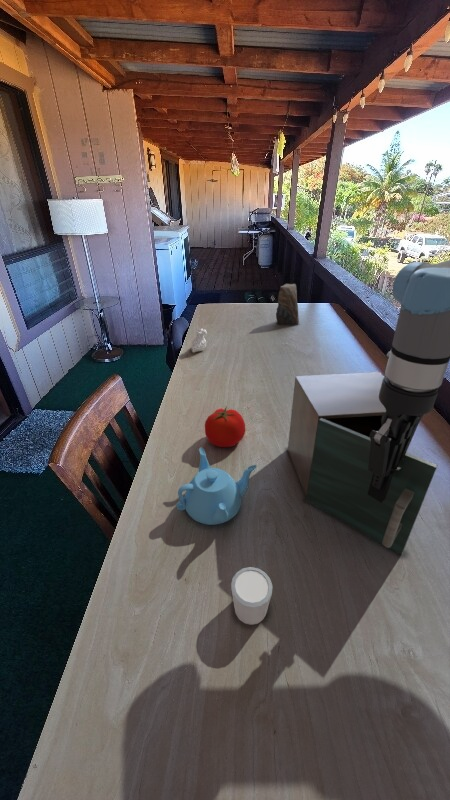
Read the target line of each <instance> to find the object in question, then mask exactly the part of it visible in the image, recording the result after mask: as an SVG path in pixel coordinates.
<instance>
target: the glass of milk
mask: <svg viewBox="0 0 450 800" xmlns="http://www.w3.org/2000/svg"><path fill="white" fill-rule="evenodd" d="M230 587H231V588H230V589H231V594H232V601H233V607H234V613H235V615H236V616H237V619H238V620H239V621H241V622H242V623H243V624H246V625H250V626H252V625H257V624H260V623H261V622H262V621H263V620H264V619H265V617H266V615H267V614H268V609H269V607H270V606H269V605H270V602H271V598H272V594H273V584H272V580H271V578H270V577H269V575H268V574H267V572H265V571H264V570H262V569H260V568H259V567H254V566H248V567H242V568H241V569H240V570H238V571H237V572H235V574H234V575H233V577H232V580H231V584H230Z"/></svg>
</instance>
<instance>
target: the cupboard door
mask: <svg viewBox="0 0 450 800" xmlns="http://www.w3.org/2000/svg"><path fill="white" fill-rule="evenodd" d="M370 446H371V440H370V437H367V436H365V435H362V434H360V433H357V432H355V431H352V430H350V429H347V428H345V427H343V426H340V425H338V424H335V423H333V422H330V421H328V420H325V419H323V418H321V419H319V423H318V429H317V436H316V442H315V448H314V455H313V461H312V468H311V474H310V480H309V487H308V493H307V497H306V499H305V500H306V502H307V503H309V504H311V505H313V506H315V507H316V508H318V509H320V510H322V511H323V512H325V513H326V514H329V515H330V516H331V517H333V518H335V519H337V520H339V521H341V522H342V523H344V524H346V525H348V526H349V527H351V528H352V529H354V530H356V531H358V532H360V533H362V534H363V535H365V536H367V537H368V538H370V539H372V540H374V541H376V542H377V543H379V544H381V545H383V547H385V548H388V549H390V550H391V551H393V552H395V553H397V554H398V555H400V556H402V555H403V553H404V552H405V548H406V545H407V543H408V542H409V538H410V536H411V533H412V531H413V528H414V526H415V523H416V521H417V518H418V515H419V513H420V511H421V509H422V505H423V504H424V501H425V498H426V496H427V493H428V491H429V488H430V486H431V483H432V480H433V478H434V476H435V473H436V470H437V468H438V464H436V463H433V462H432V461H429V460H427V459H424V458H422V457H420V456H416V455H414V454H411V453H409V452H408V451H407V452H406V454H405V456H404V459H403V461H402V462H401V463H400V462H399V463H398V466H400V467H401V468H402V469H401V470H400V472H397V471H395V470H393V471H394V474H393V477H392V480H391V483H390V486H389V489H388V492H387V495H386V499H385V500H384V501H383V502H382V503H380V502H379V501H377V500H376V499H374V498H373V497H371V496H369V495H368V490H369V487H370V483H371V480H372V476H373V473H371V472H370V471H368V465H369V455H370Z"/></svg>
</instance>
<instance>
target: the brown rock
mask: <svg viewBox="0 0 450 800" xmlns="http://www.w3.org/2000/svg"><path fill="white" fill-rule="evenodd" d="M297 289H298V287H297V284H296V283H284V284H283V285H280V287H279V291H278V295H277V308H276V313H275V318H276V322H277V325H278V326H288V325H290V326H291V325H293V326H294V325H299V323H300V317H299V305H298V304H299V303H298V290H297Z"/></svg>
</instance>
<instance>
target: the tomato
mask: <svg viewBox="0 0 450 800" xmlns="http://www.w3.org/2000/svg"><path fill="white" fill-rule="evenodd" d="M227 407H228V405H226V406H225V408H217V409H216V410H214V412H212V414H210V415H209V416H207V418H206V419H205V422H204V434H205V436H206V438H207V440H208V442H209V443H211V445H214V446H215V447H218V448H231V447H234V446H235V445H237V444H238V443H239V442H241V441H242V440H243V438H244V436H245V434H246V423H245V420H244V417H243V416H242V414H241V413H240V412H238V410H236V409H231V408H230V409H227Z"/></svg>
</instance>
